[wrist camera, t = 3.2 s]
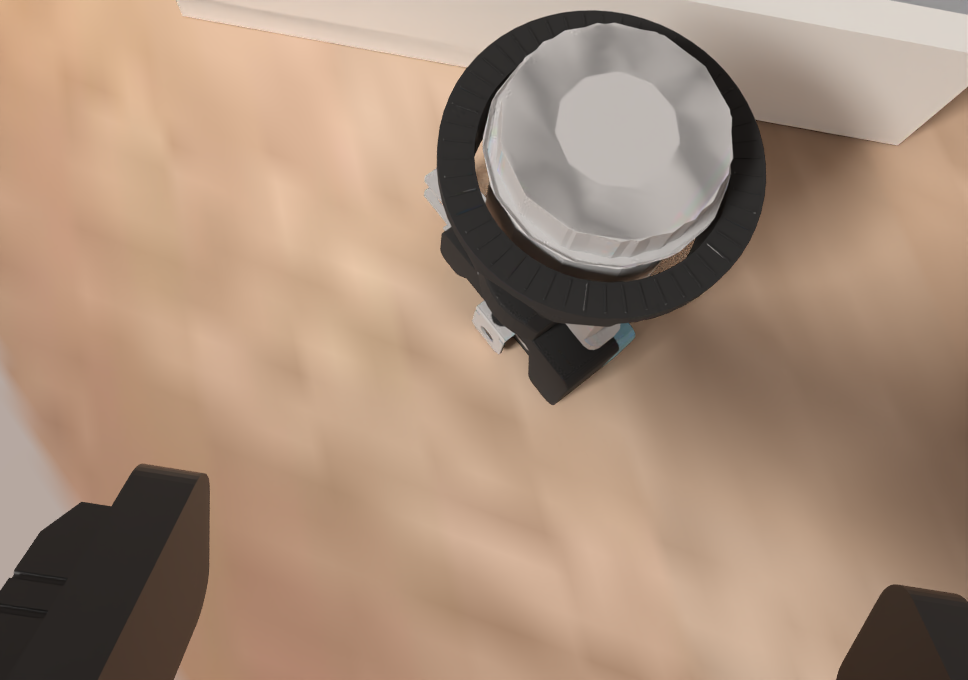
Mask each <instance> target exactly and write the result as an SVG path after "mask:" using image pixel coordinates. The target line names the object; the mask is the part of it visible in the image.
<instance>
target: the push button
mask: <svg viewBox="0 0 968 680" xmlns="http://www.w3.org/2000/svg"><path fill="white" fill-rule="evenodd" d="M482 139H483V153H484V157H485V162H486V167H487V171H488V176H489V186H488V192H487V197H485V196H484V195H483V194H482V193H481V191H480V188H479V185H478V181H477V176H476V171H475V160H474V156H475V153H476V151H477V149H478V147H479V145H480V143H481V141H482ZM425 183H426V184H427V185H428V186H429V188H428V189H426V190H425V192H424V196H425V198H426V199H427V200H428V201H429V203H430V204H431V205H432V206H433V208H434V209H435V210H436V211H437V212H438V214H439V215H440V216H441V217H442V219H443V220H444V221H445V222H446V224H447V225H446V226H445V227H443V229H444V230H445V232H443V233H442V237H441V248H440V250H441V253H442V255H443V257H444V259H445V260H446V262H447V263H448V264H449V265H450V267H451V268H452V269H453V270H454V271H455V272H456V273H457V274H458V275H459V276H462V277H464V278H467V279H468V281H469V282H470V283H471V284H472V286H473V287H474V288H475V289H476V291H477V292H478V293H479V294H480V296H481V297H482V298H483V299H484V301H483V302H482V303H480V304H479V305H478V306H477V307H476V310H475V313H474V317H473V320H472V321H473V323H474V325H475V327H476V328H477V330H478V331H479V332H480V333H481V335H482V336H483V337H484V338H485V340H486V341H487V342H488V344H489V345H490V346H491V347H492V349H493V350H494V351H495V352H496V353H498V354H500V353H501V352H502V350H503V348H504V346H505V342H506V341H507V340H509V339H510V338H511V337H514V338H515V339H516V340H517V342H518V343H519V344H520V345H521V347H522V348H523V349H524V350H525V352H526V353H527V354H528V355H529V372H528V375H529V378H530V380H531V382H532V383H533V385H534V386H535V387H536V388H537V390H538V391H539V392H540V393H541V395H542V396H543V397H544V398H545V399H546V401H547V402H549V403H550V404H551V405H554V404H556V403H557V402H558V401H560V400H561V399H562V398H563V397H565V396H566V395H567V394H568V393H570V392H571V391H572V390H574V389H575V388H576V387H577V386H579V385H580V384H581V383H582V382H584V381H585V380H586V379H588V378H589V377H590V376H591V375H593V374H594V373H595V372H596V371H598V370H599V369H600V368H602V367H603V366H604V365H605V364H607V363H608V362H609V361H611V360H612V359H613V358H614V357H616V356H617V355H618V354H619V353H620V352H621V351H622V350H623V349H624V348H625V347H626V346H627V345H628V344H629V343H630V342H631V341H632V340H633V339H634V338H635V332H634V330H633V328H632V327H631V325H630V324H629V323H631V322H638V321H642V320H647V319H651V318H655V317H658V316H661V315H664V314H667V313H669V312H671V311H673V310H676V309H678V308H680V307H682V306H684V305H686V304H687V303H689V302H691V301H692V300H694V299H696V298H697V297H699V296H700V295H701V294H703V293H704V292H705V291H706V290H708V289H709V288H710V287H712V286H713V285H714V284H715V283H716V282H717V281H718V280H719V279H720V278H721V277H722V276H723V275H724V274H725V273H726V272H727V271H728V270H729V269H730V268H731V267H732V266H733V265H734V263H735V262H736V261H737V260H738V258H739V257H740V256H741V254H742V253H743V251H744V249H745V248H746V246H747V245H748V243H749V241H750V239H751V237H752V235H753V233H754V231H755V229H756V226H757V223H758V220H759V217H760V214H761V211H762V206H763V201H764V196H765V186H766V163H765V155H764V148H763V144H762V139H761V135H760V132H759V129H758V126H757V123H756V120H755V118H754V115H753V113H752V111H751V109H750V107H749V105H748V103H747V101H746V99H745V98H744V96H743V94H742V93H741V91H740V90H739V88H738V87H737V85H736V84H735V83H734V81H733V80H732V79H731V77H730V76H729V75H728V74H727V72H726V71H725V70H724V69H723V68H722V67H721V66H720V65H719V64H718V63H717V62H716V61H715V60H714V59H713V58H712V57H711V56H710V55H708V54H707V53H706V52H705V51H704V50H703V49H701V48H700V47H698V46H697V45H696V44H694V43H693V42H692V41H690V40H689V39H687V38H685V37H684V36H682V35H680V34H679V33H677V32H675V31H673V30H671V29H669V28H667V27H665V26H663V25H660V24H658V23H655V22H652V21H650V20H647V19H644V18H640V17H637V16H633V15H629V14H624V13H618V12H612V11H598V10H585V11H571V12H563V13H558V14H553V15H549V16H545V17H542V18H539V19H536V20H533V21H530V22H528V23H525V24H523V25H521V26H519V27H516V28H514V29H513V30H511V31H509V32H508V33H506V34H504V35H502V36H501V37H499V38H498V39H497V40H495V41H494V42H493V43H491V44H490V45H489V46H488V47H486V48H485V49H484V50H483V51H482V52H481V53H480V54H479V55H478V56H477V57H476V58H475V59H474V60H473V61H472V62H471V64H470V65H469V66H468V67H467V68H466V70H465V71H464V73H463V74H462V75H461V77H460V78H459V80H458V81H457V83H456V85H455V87H454V89H453V91H452V93H451V95H450V96H449V99H448V102H447V104H446V107H445V110H444V113H443V116H442V120H441V124H440V129H439V137H438V145H437V168H436V169H435V170H433V171H432V172H430V173H429V174H427V175H426V176H425ZM438 199H439V200H440V201H441V202H442V204H443V205H442V204H440V203H439V201H438ZM695 238H696V239H695ZM694 239H695V241H694V244H693V246H692V249H691V250H690V252H689V254H688V256H687V258H686V259H685V260H683V261H682V262H680V263H678V264H677V265H675V266H673V267H672V268H670V269H668V270H665V271H663V272H661V273H659V274H656V275H653V276H650V275H651V274H652V272H653V271H654V270H655V269H656V268H657V267H658V265H659V264H660V263H661V262H662V260H663V259H666V258H669V257H670V256H672V255H674V254H676V253H678V252H680V251H681V250H682V249H683V248H684V247H686V246H687V245H688V244H689V243H690V242H691V241H692V240H694ZM649 276H650V277H649ZM484 328H485V329H486V330H487V332H488V333H489V334H490V336H491V337H492V338H491V337H490V336H489V335H488V334H487V332H486V331H485V329H484Z"/></svg>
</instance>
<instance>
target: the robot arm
mask: <svg viewBox="0 0 968 680" xmlns="http://www.w3.org/2000/svg"><path fill="white" fill-rule="evenodd" d="M209 514H210V485H209V478H208V476H207V474H205V473H198V472H192V471H185V470H179V469H173V468H166V467H160V466H154V465H147V464H140V465H138V466H137V467H136V468H135V469H134V470H133V472H132V473H131V475H130V476H129V478H128V480H127V481H126V483H125V485H124V486H123V488H122V490H121V491H120V493H119V495H118V496H117V498H116V500H115V501H114V503H113V505H112V506H105V505H99V504H92V503H86V502H81V503H79V504H78V505H76V506H75V507H74V508H72V509H71V510H70V511H68V512H67V513H65V514H64V515H63V516H61V517H60V518H59V519H57V520H56V521H54V522H53V523H52V524H50V525H49V526H48V527H46V528H45V529H43V530H42V531H41V532H40V533H39V534H38V536H37V538H36V539H35V540H34V542H33V543H32V545H31V546H30V548H29V550H28V551H27V552H26V554H25V555H24V557H23V558H22V560H21V561H20V562H19V564H18V565H17V567H16V568H15V570H14V575H13V577H12V578H9V579H8V580H7V582H6V583H5V585H4V586H3V588H2V589H1V590H0V680H174V678H175V675H176V673H177V670H178V668H179V665H180V663H181V661H182V658H183V656H184V653H185V651H186V648H187V646H188V644H189V641H190V639H191V636H192V634H193V631H194V629H195V627H196V624H197V621H198V619H199V616H200V613H201V609H202V606H203V602H204V598H205V594H206V589H207V583H208V576H209ZM836 680H968V602H967V601H966V599H965V598H963V597H962V596H960V595H958V594H954V593H947V592H941V591H934V590H928V589H922V588H915V587H909V586H903V585H890V586H889V587H887V588H886V589H885V590H884V591H883V592H882V593H881V595H880V596H879V598H878V600H877V602H876V604H875V605H874V607H873V609H872V611H871V612H870V614H869V616H868V618H867V620H866V621H865V623H864V625H863V627H862V628H861V630H860V632H859V634H858V636H857V637H856V639H855V641H854V643H853V644H852V646H851V648H850V650H849V652H848V653H847V655H846V657H845V659H844V661H843V662H842V664H841V666H840V668H839V671H838V674H837V679H836Z"/></svg>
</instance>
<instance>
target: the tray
mask: <svg viewBox="0 0 968 680" xmlns="http://www.w3.org/2000/svg"><path fill="white" fill-rule="evenodd" d="M176 2H177V4H178V6H179V9H180V11H181V13H182V16H186V17H191V18H197V19H202V20H208V21H213V22H219V23H224V24H230V25H235V26H241V27H246V28H252V29H257V30H263V31H268V32H274V33H279V34H285V35H290V36H296V37H302V38H307V39H313V40H318V41H324V42H329V43H335V44H340V45H346V46H351V47H357V48H362V49H368V50H373V51H379V52H384V53H390V54H395V55H401V56H406V57H412V58H417V59H423V60H428V61H434V62H440V63H445V64H451V65H456V66H462V67H468V66H469V65H470V64H471V62H472V61H473V60H474V59H475V58H476V57H477V56H478V55H479V54H480V53H481V52H482V51H483V50H484V49H485V48H486V47H488V46H489V45H490V44H491V43H493V42H494V41H495V40H497V39H498V38H499V37H501V36H502V35H504V34H506V33H508V32H509V31H511V30H513V29H514V28H516V27H519V26H521V25H523V24H525V23H528V22H530V21H533V20H536V19H539V18H542V17H545V16H549V15H553V14H558V13H563V12H571V11H585V10H598V11H612V12H618V13H624V14H629V15H633V16H637V17H640V18H644V19H647V20H650V21H652V22H655V23H658V24H660V25H663V26H665V27H667V28H669V29H671V30H673V31H675V32H677V33H679V34H680V35H682V36H684V37H685V38H687V39H689V40H690V41H692V42H693V43H694V44H696V45H697V46H698V47H700V48H701V49H703V50H704V51H705V52H706V53H707V54H708V55H710V56H711V57H712V58H713V59H714V60H715V61H716V62H717V63H718V64H719V65H720V66H721V67H722V68H723V69H724V70H725V71H726V72H727V74H728V75H729V76H730V77H731V79H732V80H733V81H734V83H735V84H736V85H737V87H738V88H739V90H740V91H741V93H742V94H743V96H744V98H745V99H746V101H747V103H748V105H749V107H750V109H751V111H752V113H753V115H754V118H755V120H760V121H765V122H771V123H776V124H782V125H787V126H793V127H798V128H804V129H809V130H815V131H820V132H826V133H831V134H837V135H843V136H848V137H854V138H859V139H865V140H870V141H876V142H881V143H887V144H892V145H899V144H900V143H901V142H902V141H904V140H905V139H906V138H907V137H908V136H910V135H911V134H912V133H913V132H914V131H916V130H917V129H918V128H919V127H920V126H921V125H923V124H924V123H925V122H926V121H927V120H929V119H930V118H931V117H932V116H933V115H935V114H936V113H937V112H938V111H939V110H941V109H942V108H943V107H944V106H945V105H946V104H948V103H949V102H950V101H951V100H952V99H954V98H955V97H956V96H957V95H958V94H960V93H961V92H962V91H963V90H964V89H966V88H967V87H968V0H176Z"/></svg>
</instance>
